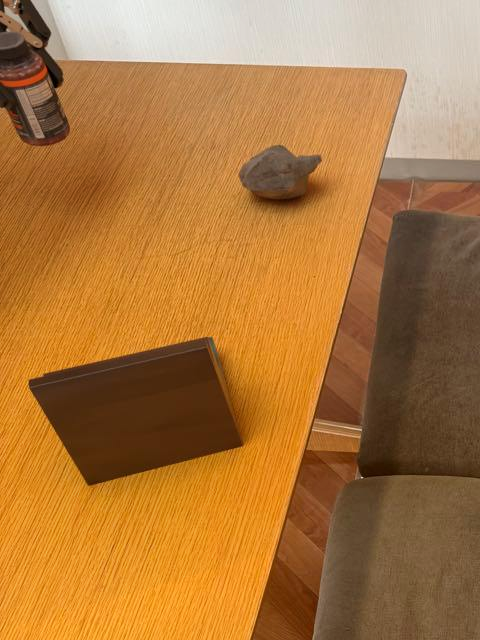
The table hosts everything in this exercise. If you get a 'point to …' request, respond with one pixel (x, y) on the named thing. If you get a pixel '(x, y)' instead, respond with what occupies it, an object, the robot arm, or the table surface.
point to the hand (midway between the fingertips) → (36, 95)
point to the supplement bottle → (31, 93)
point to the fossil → (278, 173)
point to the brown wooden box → (140, 409)
